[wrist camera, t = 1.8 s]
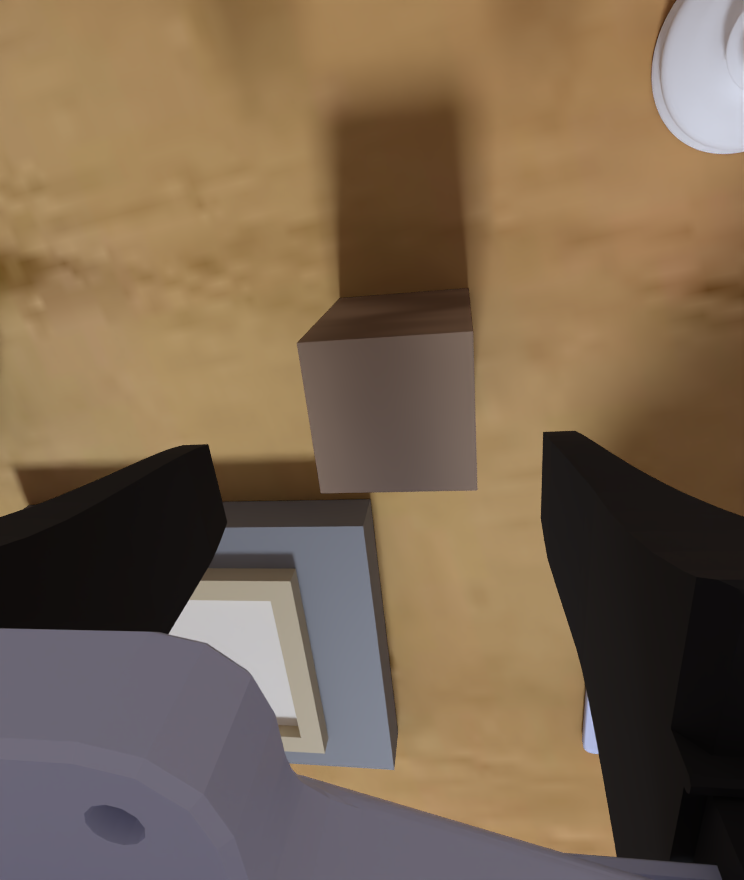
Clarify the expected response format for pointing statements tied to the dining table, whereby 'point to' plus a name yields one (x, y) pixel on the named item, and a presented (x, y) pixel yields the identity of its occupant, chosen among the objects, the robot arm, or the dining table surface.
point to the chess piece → (702, 74)
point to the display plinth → (304, 625)
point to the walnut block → (392, 393)
